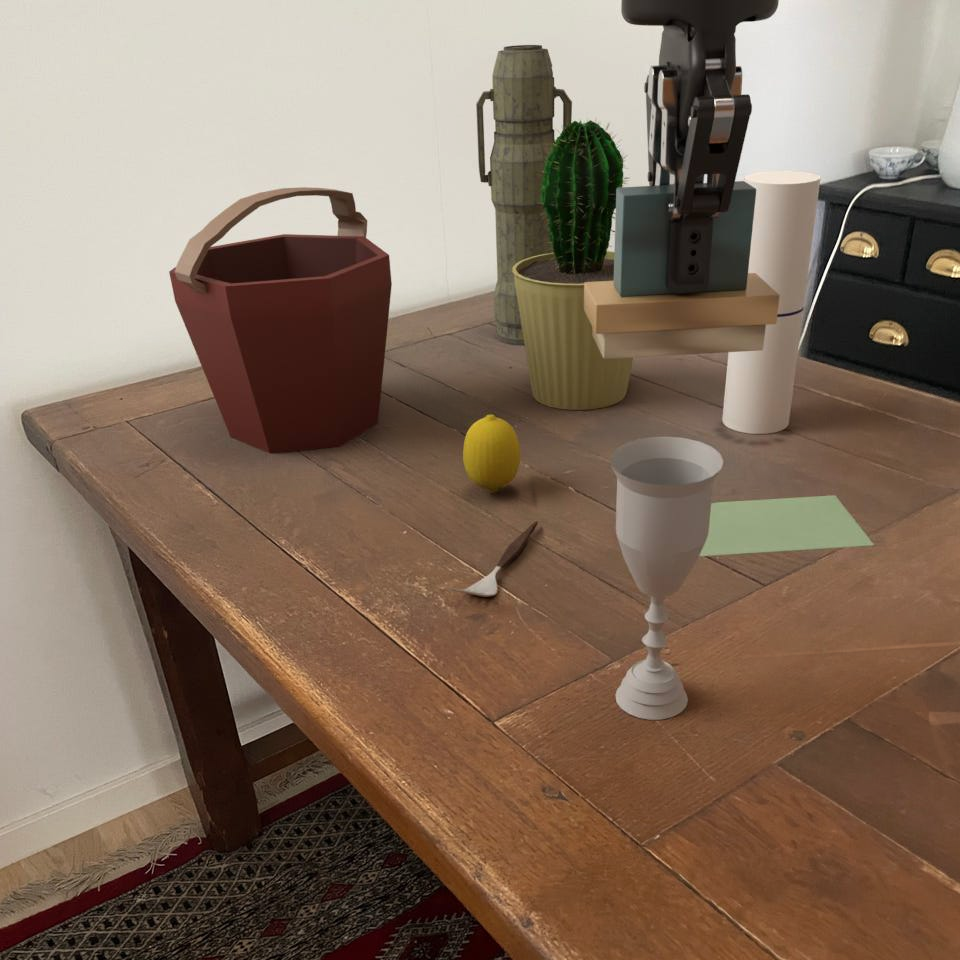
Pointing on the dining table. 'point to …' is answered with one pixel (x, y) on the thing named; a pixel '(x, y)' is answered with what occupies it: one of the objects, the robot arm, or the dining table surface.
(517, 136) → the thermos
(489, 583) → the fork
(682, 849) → the dining table surface
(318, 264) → the bucket
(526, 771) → the dining table surface
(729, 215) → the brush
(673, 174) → the robot arm
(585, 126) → the potted cactus
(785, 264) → the cylindrical container
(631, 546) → the chalice
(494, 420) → the lemon
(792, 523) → the mat
